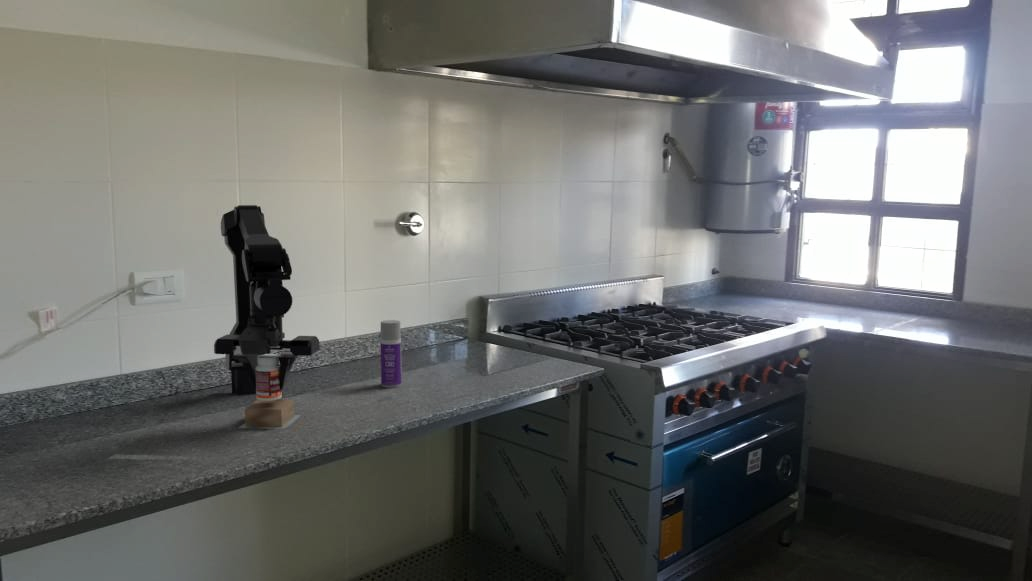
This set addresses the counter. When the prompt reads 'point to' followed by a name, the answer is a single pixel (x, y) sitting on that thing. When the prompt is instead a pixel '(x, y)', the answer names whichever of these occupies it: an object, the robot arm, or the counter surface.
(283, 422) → the walnut block
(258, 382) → the pill bottle
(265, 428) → the plate
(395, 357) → the container
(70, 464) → the counter surface
